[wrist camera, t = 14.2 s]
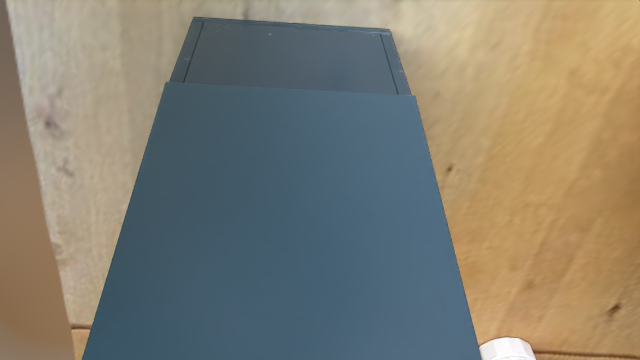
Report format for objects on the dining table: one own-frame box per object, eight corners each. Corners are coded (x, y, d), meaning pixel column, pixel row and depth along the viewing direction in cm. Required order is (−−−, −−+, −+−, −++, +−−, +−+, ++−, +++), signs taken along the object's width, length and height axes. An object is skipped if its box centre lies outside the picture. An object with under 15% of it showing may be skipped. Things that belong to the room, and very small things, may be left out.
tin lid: (480, 385, 20) (486, 374, 20) (83, 379, 19) (78, 367, 19) (412, 106, 32) (415, 95, 32) (166, 93, 31) (165, 81, 30)
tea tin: (362, 201, 49) (375, 286, 42) (203, 194, 48) (185, 281, 40) (389, 28, 40) (413, 96, 32) (193, 16, 39) (167, 83, 31)
